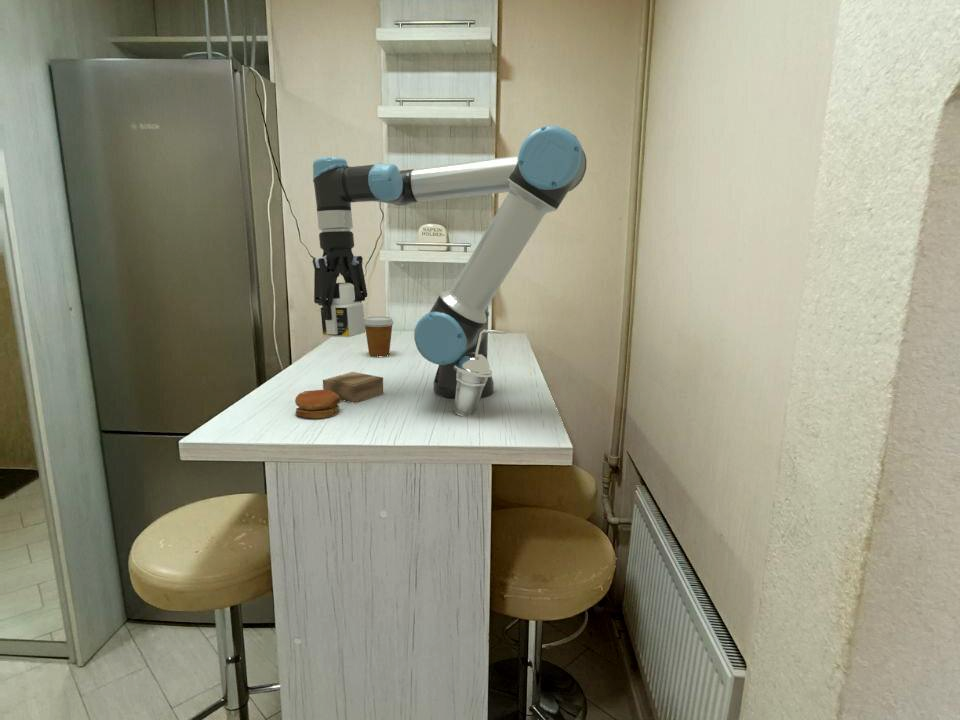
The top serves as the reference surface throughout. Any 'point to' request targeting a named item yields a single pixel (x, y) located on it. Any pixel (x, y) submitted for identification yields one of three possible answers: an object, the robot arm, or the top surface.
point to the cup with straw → (471, 378)
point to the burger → (317, 404)
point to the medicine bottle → (346, 312)
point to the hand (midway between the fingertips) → (345, 331)
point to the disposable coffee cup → (378, 335)
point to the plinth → (354, 386)
